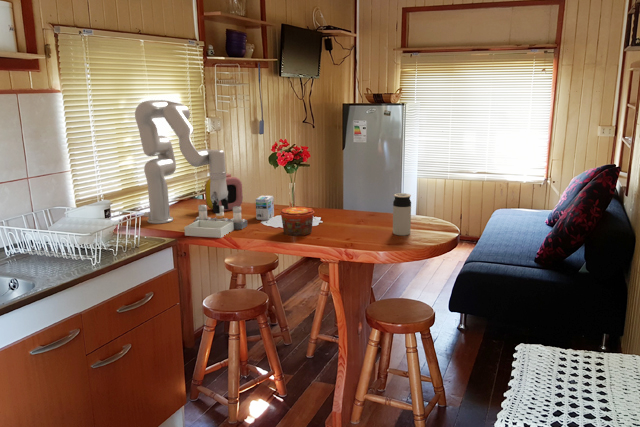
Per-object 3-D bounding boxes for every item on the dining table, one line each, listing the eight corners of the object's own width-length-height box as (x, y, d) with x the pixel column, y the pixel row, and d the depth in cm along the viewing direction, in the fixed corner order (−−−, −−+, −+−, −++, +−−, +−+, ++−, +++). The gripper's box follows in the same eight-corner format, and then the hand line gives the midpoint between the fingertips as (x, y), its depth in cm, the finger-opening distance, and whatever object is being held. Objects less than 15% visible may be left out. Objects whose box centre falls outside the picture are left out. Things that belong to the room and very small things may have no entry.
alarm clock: (215, 213, 291) (213, 177, 286) (204, 210, 299) (202, 175, 294) (244, 208, 303) (242, 174, 299) (233, 205, 311) (231, 171, 306)
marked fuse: (215, 227, 262) (213, 207, 260) (218, 225, 266) (217, 205, 264) (222, 227, 261) (221, 207, 259) (226, 225, 265) (225, 205, 263)
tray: (184, 235, 248) (184, 227, 247) (199, 228, 261) (198, 219, 260) (221, 237, 243) (220, 229, 242) (233, 229, 257) (233, 221, 256)
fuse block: (193, 226, 263) (193, 218, 262) (200, 223, 270) (199, 215, 269) (241, 229, 257) (241, 221, 256) (247, 225, 264) (247, 217, 263)
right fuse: (232, 228, 260) (231, 207, 258) (235, 226, 264) (234, 206, 261) (240, 228, 259) (239, 208, 257) (243, 226, 263) (242, 206, 260)
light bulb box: (268, 220, 275) (267, 199, 272) (255, 219, 276) (255, 199, 274) (274, 215, 285) (273, 195, 283) (262, 215, 286) (261, 195, 284)
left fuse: (198, 226, 264) (196, 206, 262) (201, 224, 268) (200, 204, 266) (205, 226, 263) (204, 206, 261) (209, 224, 267) (208, 204, 265)
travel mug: (397, 236, 242) (397, 197, 238) (389, 232, 249) (390, 193, 245) (413, 235, 244) (414, 195, 240) (405, 230, 252) (406, 192, 248)
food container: (277, 236, 244) (276, 213, 242) (284, 227, 260) (283, 205, 257) (312, 237, 242) (311, 214, 240) (317, 228, 257) (316, 206, 255)
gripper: (218, 173, 267) (221, 207, 271) (202, 178, 251) (205, 214, 254) (232, 173, 265) (235, 207, 269) (217, 179, 249) (220, 215, 252)
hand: (220, 211), depth 261 cm, fingers open, 9 cm apart
